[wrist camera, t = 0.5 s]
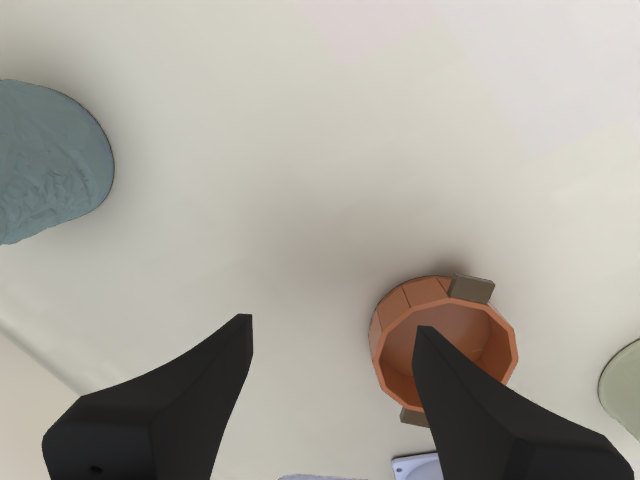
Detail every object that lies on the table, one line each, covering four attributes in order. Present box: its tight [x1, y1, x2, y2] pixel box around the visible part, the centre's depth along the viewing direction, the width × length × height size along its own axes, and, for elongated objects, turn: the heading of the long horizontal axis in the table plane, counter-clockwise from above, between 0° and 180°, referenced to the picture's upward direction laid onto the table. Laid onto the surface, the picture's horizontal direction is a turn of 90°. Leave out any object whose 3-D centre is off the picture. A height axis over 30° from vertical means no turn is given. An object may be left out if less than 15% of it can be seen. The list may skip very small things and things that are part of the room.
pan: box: [368, 273, 518, 428], centre depth 23 cm, size 9×12×4 cm
